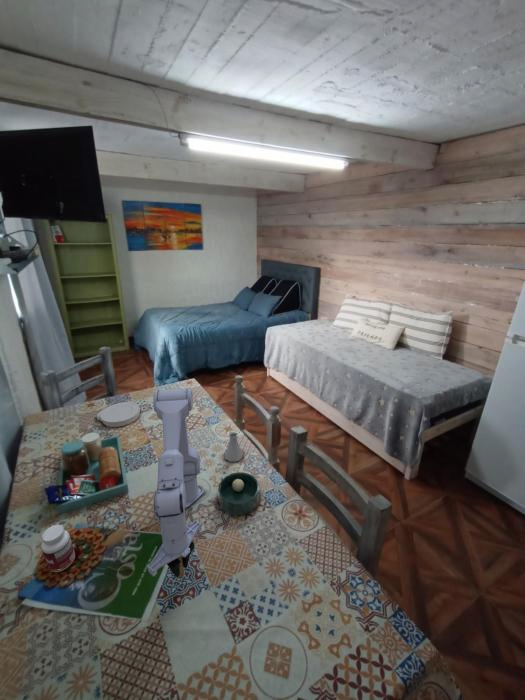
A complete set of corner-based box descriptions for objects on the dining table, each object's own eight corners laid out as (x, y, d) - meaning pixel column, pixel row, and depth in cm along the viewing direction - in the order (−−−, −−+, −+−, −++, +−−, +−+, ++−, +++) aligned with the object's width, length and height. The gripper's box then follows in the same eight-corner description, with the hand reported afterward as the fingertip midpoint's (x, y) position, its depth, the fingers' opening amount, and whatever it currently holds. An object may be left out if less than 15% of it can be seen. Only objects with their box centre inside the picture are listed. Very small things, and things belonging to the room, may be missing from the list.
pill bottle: (45, 563, 84) (34, 533, 80) (70, 546, 89) (61, 517, 85) (53, 578, 81) (43, 548, 76) (79, 560, 85) (70, 531, 81)
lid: (109, 405, 158) (108, 400, 157) (147, 408, 156) (146, 403, 155) (87, 425, 142) (86, 419, 141) (128, 429, 140) (127, 423, 139)
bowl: (210, 502, 103) (209, 490, 101) (236, 478, 113) (236, 466, 111) (242, 523, 96) (241, 510, 94) (266, 495, 106) (266, 483, 104)
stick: (174, 575, 79) (171, 553, 76) (180, 569, 80) (177, 546, 77) (179, 580, 77) (176, 558, 75) (186, 573, 79) (183, 551, 76)
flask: (240, 463, 120) (239, 441, 116) (222, 460, 121) (221, 439, 118) (245, 451, 127) (244, 430, 123) (227, 448, 128) (226, 428, 124)
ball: (229, 490, 107) (229, 481, 105) (237, 483, 110) (237, 474, 108) (238, 496, 105) (238, 487, 103) (246, 488, 108) (246, 479, 106)
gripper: (159, 565, 65) (166, 606, 70) (208, 516, 76) (211, 555, 81) (138, 546, 69) (146, 587, 74) (188, 502, 80) (192, 540, 85)
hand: (179, 569), depth 78 cm, fingers closed on stick, 2 cm apart
